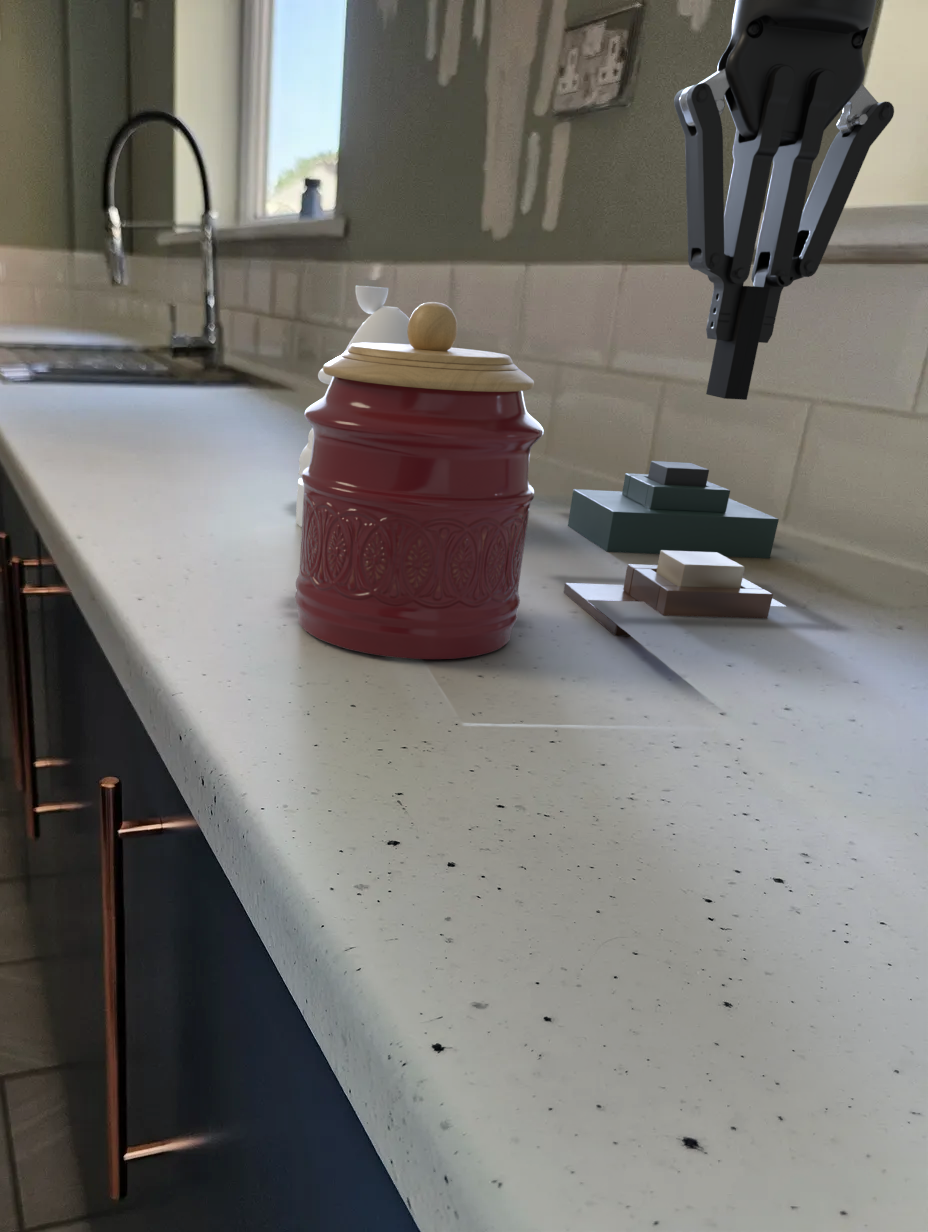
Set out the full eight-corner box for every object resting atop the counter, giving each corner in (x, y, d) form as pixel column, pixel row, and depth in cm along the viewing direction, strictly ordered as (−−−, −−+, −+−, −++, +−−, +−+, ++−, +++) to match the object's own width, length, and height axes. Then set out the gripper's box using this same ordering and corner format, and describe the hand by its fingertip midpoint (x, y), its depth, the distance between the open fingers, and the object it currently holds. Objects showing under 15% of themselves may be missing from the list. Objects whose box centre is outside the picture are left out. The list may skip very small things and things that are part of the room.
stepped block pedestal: (754, 599, 79) (762, 563, 78) (829, 642, 70) (839, 602, 69) (563, 592, 77) (568, 556, 76) (614, 635, 68) (621, 595, 67)
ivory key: (712, 578, 75) (717, 552, 74) (739, 594, 71) (745, 566, 70) (655, 576, 74) (660, 549, 73) (679, 592, 70) (685, 564, 70)
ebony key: (687, 484, 95) (691, 462, 95) (705, 491, 92) (709, 469, 91) (646, 482, 95) (650, 460, 94) (663, 489, 92) (667, 467, 91)
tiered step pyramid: (717, 532, 101) (729, 475, 99) (770, 558, 92) (784, 496, 90) (567, 526, 99) (576, 467, 97) (606, 552, 90) (617, 488, 88)
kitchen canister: (494, 678, 59) (543, 312, 51) (261, 642, 62) (276, 291, 54) (528, 617, 70) (572, 310, 63) (330, 590, 73) (349, 294, 66)
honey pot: (263, 520, 92) (273, 279, 85) (361, 505, 102) (378, 286, 94) (386, 550, 85) (408, 290, 78) (480, 531, 94) (508, 296, 87)
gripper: (882, -22, 67) (789, 396, 77) (677, -47, 65) (608, 386, 75) (964, -55, 60) (851, 408, 70) (737, -83, 58) (654, 398, 68)
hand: (726, 396), depth 72 cm, fingers closed
